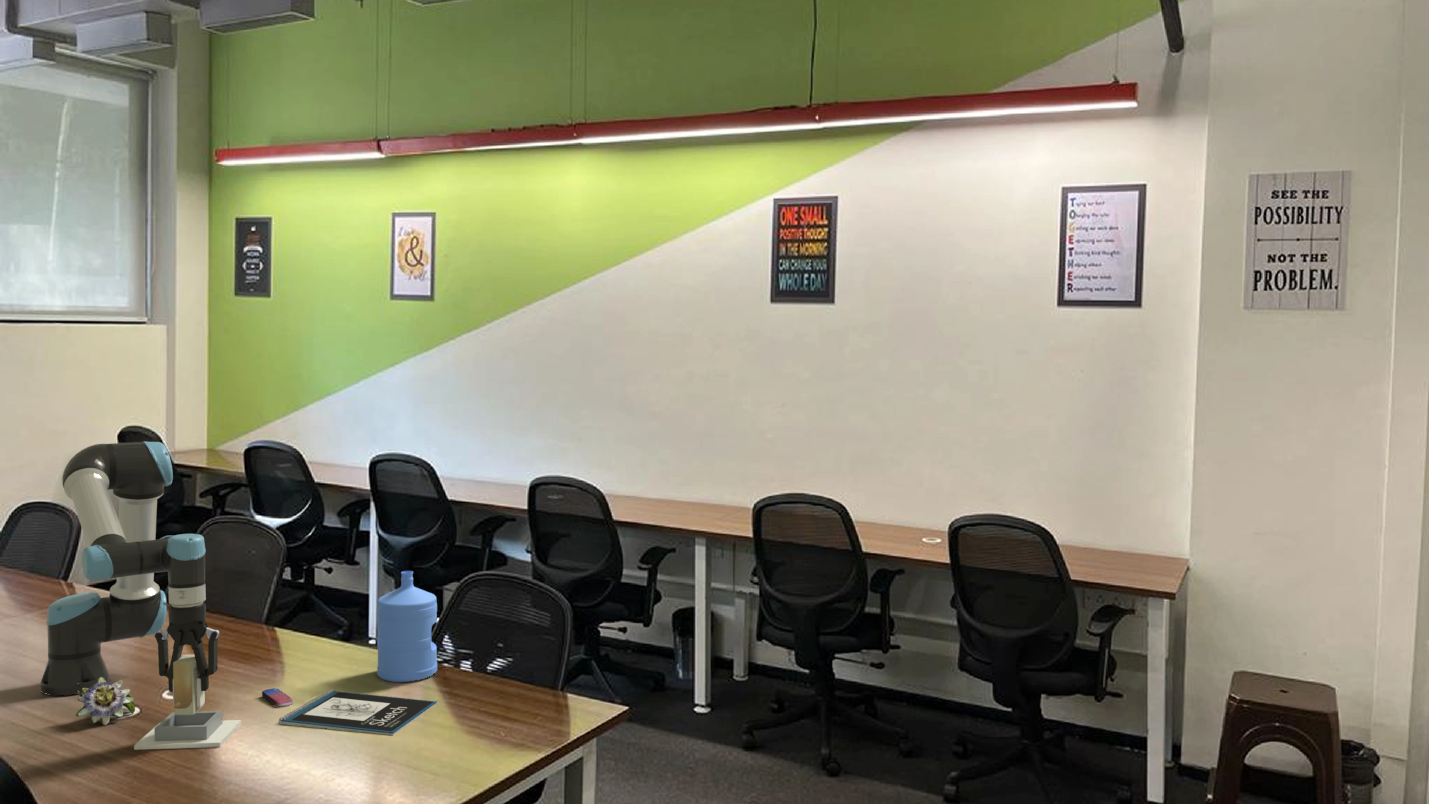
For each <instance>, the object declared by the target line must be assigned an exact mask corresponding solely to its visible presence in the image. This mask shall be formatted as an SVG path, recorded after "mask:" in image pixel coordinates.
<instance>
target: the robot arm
mask: <svg viewBox="0 0 1429 804" xmlns="http://www.w3.org/2000/svg"><path fill="white" fill-rule="evenodd" d="M77 452H78V453H75V454H74V455H73V457H71V458H70V459H69V461H68V463H67V464H66V466H65V468H64V470H63V473H62V477H61V478H62V479H61V481H62V482H61V483H62V487H63V491H64V493H65V495H66V496H67V497H68V498H70V500H72V502H73V503H72V504H73V506H74V508H75V511H76V514H77V518H78V521H79V524H80V526H81V529H82V532H83V535H84V537H85V541H86V543H87V547H85V548H84V549H83V551H82V552H81V553H82V554H81V567H82V574H83V576H84V578H85V579H87V580H90V581H93V580H109V579H116V582H115V583H114V584H113V585H112V586H111V587H110V588H109V595H108V596H104V597H101V596H100V594H99V593H97V592H87V593H86V592H82V593H76V594H71V595H68V596H63V598H59V599H57V600H55V601H53V602H52V603H51V604H50V605H48V607H47V608H48V609H47V613H46V622H45V623H46V625H47V654H48V655H47V657H48V659H47V663H46V666H45V669H44V672H43V675H42V677H41V680H40V692H41V691H42V692H43V693H47V694H50V695H49V696H53V695H64V696H72V695H71V694H74V695H78V694H77V693H78V691H79V692H80V693H81V692H82V688H88V689H89V687H92V686H93V685H95V684H96V683H97V681H98V679H99V678H100V677H102V678H104V680H105V681H108V682H107V685H108V684H110V673H109V670H108V668H107V666H106V664H105V660H104V659H103V655H102V653H101V650H102V649H101V648H102V647H101V645H102V644H103V643H108V642H116V641H122V640H123V641H124V640H128V639H134V638H144V637H147V636H151V635H154V637H155V641H156V642H157V655H158V675H159V676H161V677H166V678H167V679H168V682H167V683H168V692H169V693H172V706H173V709H174V679H173V662H175V661H176V660H178V659H179V658H180V657H181V656H182V655H183V649H184V646H185V645H187V646H191V649H192V650H193V654H194V655H195V659H196V663H197V667H198V670H199V674H200V676H199V677H198V678H197V679H196V685H197V707H201V706H202V705H203V704H204V705H205V703H206V702H205V699H206V697H205V695H206V694H205V692H206V691H208V690H209V688H210V687H209V685H210V683H209V682H210V681H209V678H210V676H212V675H214V674H215V673H216V672H217V671H218V668H219V667H218V665H219V664H218V663H219V662H218V660H219V659H218V656H219V655H218V654H219V653H218V643H219V641H218V639H219V637H220V634H221V629H219V628H216V629H214V628H213V629H212V628H210V627H209V626H208V625H209V624H208V623H207V604H206V603H205V601H206V600H207V597H206V596H207V595H206V589H207V588H206V552H207V550H206V544H205V538H204V536H203V535H201V534H197V533H196V534H195V533H182V534H176V535H165V536H163V537H160V538H159V539H156V537H157V536H156V534H157V511H158V510H157V509H158V508H157V507H158V499H160V498H161V497H162V496H163V495H164V493H165V487H168V486H171V485H172V483H173V480H174V475H173V465H172V461H171V457H170V454H169V452H168V449H167V446H165V444H164V443H163V442H160V441H145V440H144V441H133V442H115V443H96V444H93V445H89V446H87V447H84V448H83V449H81V450H80V451H77ZM109 490H110V491H111V490H112V494H113V496H114V497H115V498H117V500H118V501H119V505H118V506H119V508H118V514H117V511H116V509H115V507H114V504H113V501H112V498H111V495H110V493H109ZM165 572H167V576H168V577H167V580H168V584H167V586H168V587H167V588H168V603H169V606H168V607H167V596H166V594H165V591H163V590H162V589H161V588H160V586H159V584H158V583H156V582H155V581H154V579H155V577H154V576H155V574H156V573H157V574H158V573H165ZM167 608H168V626H167V628H166V629H163V630H162V628H163V627H164V625H165V621H166V617H167V616H166V615H167ZM205 635H207V636H206V638H207V639H208V642H207V643H208V645H207V654H208V655H207V656H208V657H207V658H206V653H205V650H204V646H203V645H204V642H203V637H204V636H205ZM169 637H170V638H171V639H172V640H173V647H172V652H171V653H172V654H171V657H170V659H169ZM169 660H170V661H169ZM42 692H41V693H42ZM86 692H87V691H86ZM43 693H42V694H43ZM204 705H203V706H204ZM203 706H202V707H203ZM202 707H201V708H202Z"/></svg>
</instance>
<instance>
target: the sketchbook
mask: <svg viewBox="0 0 1429 804" xmlns="http://www.w3.org/2000/svg"><path fill="white" fill-rule="evenodd" d="M434 705H435V706H436V705H438V701H436V700H435V701H434V700H426V699H425V700H424V699H416V698H415V699H414V698H406V697H397V696H387V695H377V694H367V693H359V692H357V693H356V692H350V691H349V692H348V691H339V690H337V691H336V690H331V689H329V690H327V691H326V692H323V693H321V694H319V695H317V696H316V697H315V698H312V699H311V700H309V701H308V702H306V703H304V704H302V705H301V706H299V707H297V708H295V709H293V710H292V711H289V712H288V713H285V715H283V716H280V717H279V719H278V723H279V724H280V725H284V726H293V727H294V726H295V727H297V726H296V725H299V726H298V727H303V726H305V728H314V729H315V728H316V729H324V728H327V729H326V730H335V729H336V731H345V732H356V733H364V734H365V733H367V734H378V735H385V734H386V736H394V735H396V734H397V733H399V732H400V731H401V730H403V729H405V727H407V726H409V725H410V724H411V723H412V722H414V721H415V720H417V719H418V718H420V717H421V716H422V715H424V714H425V713H426V712H429V710H431V709H432V708H434V707H435V706H434ZM430 708H431V709H430ZM414 719H415V720H414ZM410 722H411V723H410ZM409 723H410V724H409ZM406 725H407V726H406ZM402 728H403V729H402Z"/></svg>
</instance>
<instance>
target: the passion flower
mask: <svg viewBox="0 0 1429 804" xmlns="http://www.w3.org/2000/svg"><path fill="white" fill-rule="evenodd" d="M107 682H108V681H105V680H104V678H102V677H100V678H99V679H98V681H97V683H96V684H95V685H93V686H92V687H89V689H88V688H82V692H81V693H80V692H79V691H78V694H77V695H78V696H79V698H77V701H78V702H81V703H82V704H83V706H82V708H80V709H78V711H77V712H76V714H75V716H76V717H83V716H85V715H87V714H89V716H90V720H91V723H92V724H96V723H97V722H101V724H102V725H103V726H104V725H105V726H107V725H108V724H109V722H110V719H111V716H112V715H114V716H115V717H117V718H118V717H119V718H122V717H123V715H124V711H123V707H125V708H127V709H126V710H128V711H129V712H130V713H131V714H132V715H134V713H135V711H136V710H135V709H136V705H135V699H134V697H133V696H132V695H131V694H129V693H130V692H131V690H130V689H129V688H125V689H123V688H122V685H123V680H122V679H120V680H117V681H115V682H113V683H112V684H111V683H110V682H109V683H108V684H107ZM86 691H87V692H86Z"/></svg>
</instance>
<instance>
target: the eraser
mask: <svg viewBox="0 0 1429 804" xmlns="http://www.w3.org/2000/svg"><path fill="white" fill-rule="evenodd" d="M261 696H262V699H263V700H264V701H266V702H268V703H269V704H271V705H273V706H274V705H275V706H274V707H276V708H287V707H290V705H291V706H293V699H292V697H290V696H289V695H288V694H286V693H284V692H283V691H282V690H281V689H279V688H267V689H265V690H262V691H261Z"/></svg>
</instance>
